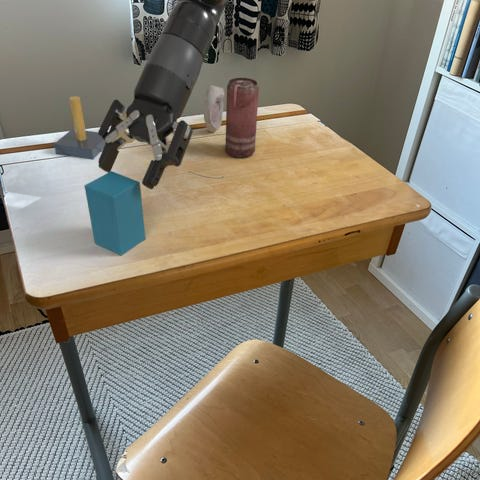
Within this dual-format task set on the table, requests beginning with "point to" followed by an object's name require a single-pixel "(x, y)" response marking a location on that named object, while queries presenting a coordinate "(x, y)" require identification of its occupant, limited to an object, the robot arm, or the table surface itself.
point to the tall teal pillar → (116, 212)
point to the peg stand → (79, 136)
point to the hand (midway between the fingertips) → (125, 178)
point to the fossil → (213, 108)
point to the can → (241, 117)
